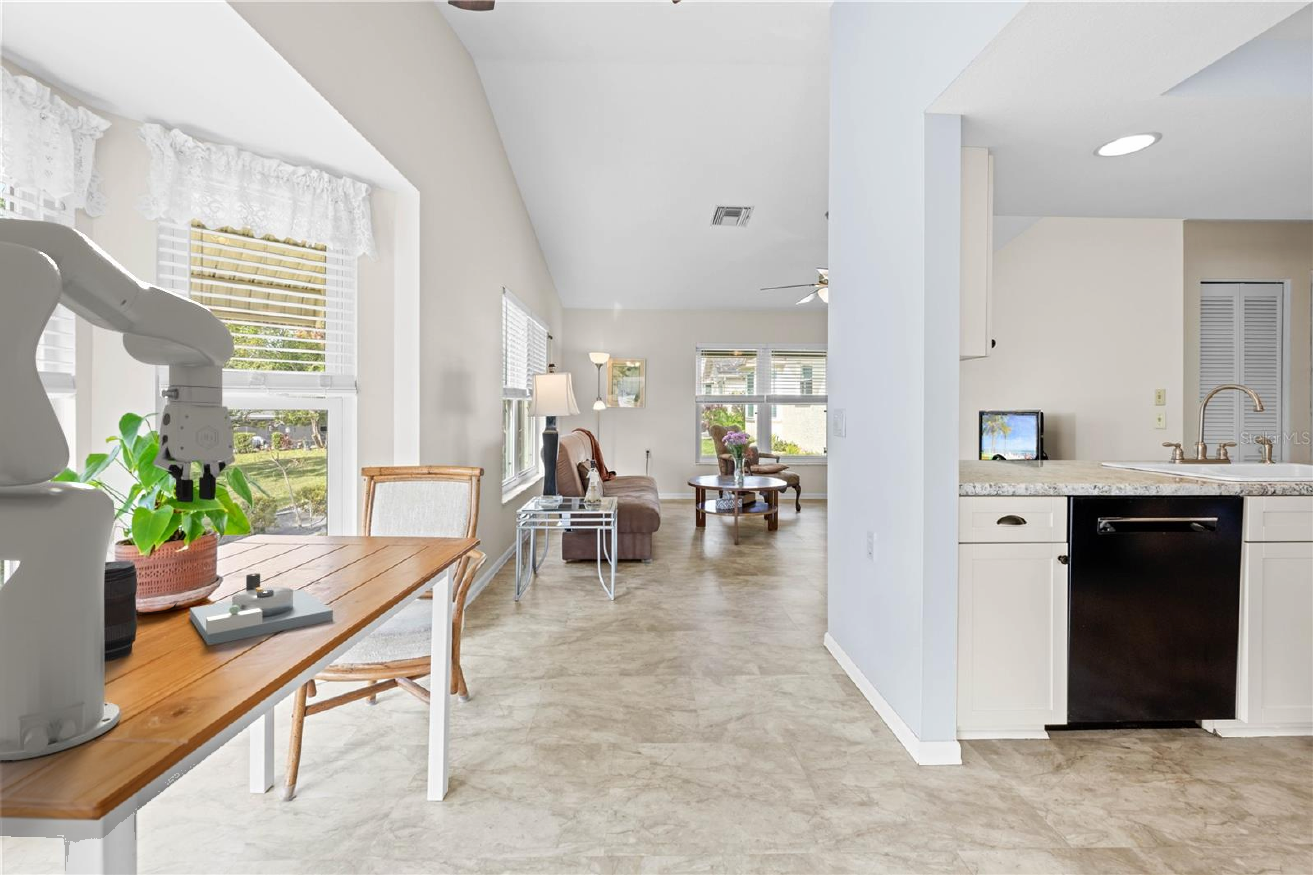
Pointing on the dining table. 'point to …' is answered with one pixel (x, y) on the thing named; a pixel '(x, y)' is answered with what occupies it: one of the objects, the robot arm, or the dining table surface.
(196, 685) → the dining table surface
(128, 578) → the camera lens
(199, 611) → the level board
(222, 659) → the dining table surface
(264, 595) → the dial
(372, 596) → the dining table surface
